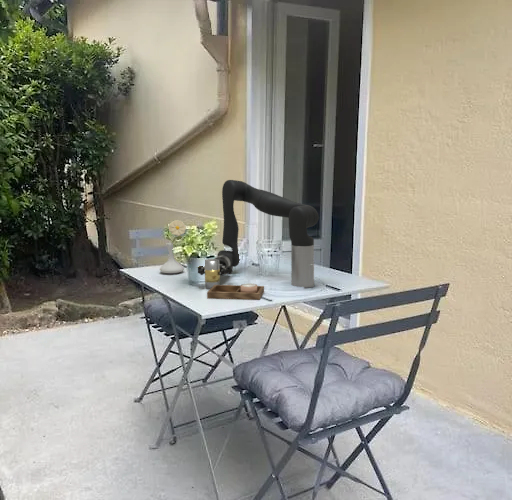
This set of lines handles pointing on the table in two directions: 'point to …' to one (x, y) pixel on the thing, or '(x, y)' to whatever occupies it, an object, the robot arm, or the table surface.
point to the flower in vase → (172, 264)
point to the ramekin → (249, 288)
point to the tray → (233, 293)
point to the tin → (212, 273)
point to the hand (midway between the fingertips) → (211, 272)
